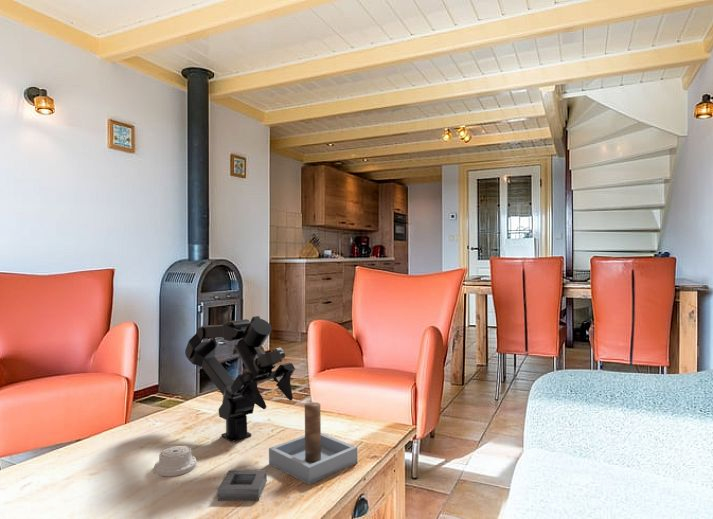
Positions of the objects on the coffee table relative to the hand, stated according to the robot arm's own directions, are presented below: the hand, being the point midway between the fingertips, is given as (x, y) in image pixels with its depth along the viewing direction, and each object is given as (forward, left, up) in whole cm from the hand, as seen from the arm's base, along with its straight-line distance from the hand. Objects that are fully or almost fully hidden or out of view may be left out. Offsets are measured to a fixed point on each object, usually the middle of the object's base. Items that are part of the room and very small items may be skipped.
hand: (278, 403), depth 127 cm
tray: (+11, +3, -14) cm, 17 cm away
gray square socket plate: (+10, -17, -14) cm, 24 cm away
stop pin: (+10, +3, -13) cm, 17 cm away
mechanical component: (-13, -23, -14) cm, 30 cm away
